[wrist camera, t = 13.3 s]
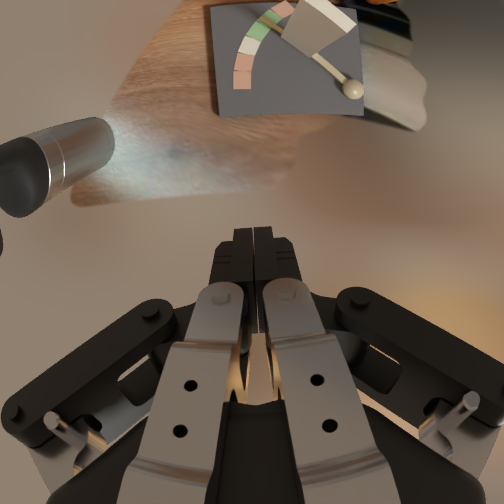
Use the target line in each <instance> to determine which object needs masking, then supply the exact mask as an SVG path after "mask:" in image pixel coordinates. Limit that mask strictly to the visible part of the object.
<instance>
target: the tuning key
mask: <svg viewBox="0 0 504 504" xmlns="http://www.w3.org/2000/svg"><path fill="white" fill-rule="evenodd" d="M259 20H261V21H263V22H264V23H266V24H267V25H269V26H270V27H272V28H273V29H275V30H276V31H278V32H279V33H281V34H282V35H281V38H283V39H284V40H285V41H287V42H288V43H290V44H291V45H292V46H294V47H295V48H296V49H298V50H299V51H300V52H302V53H303V54H304V55H305V56H307V57H308V58H310V57H311V58H312V59H313V60H314V61H315V62H317V63H318V64H319V65H320V66H321V67H323V68H324V69H325V70H326V71H327V72H329V73H330V74H331V75H332V76H333V77H334V78H335V79H336V80H338V81H339V82H340V83H341V84H342V92H343V94H344V95H345V96H346V97H347V98H350V99H359V98H360V97H362V95H363V93H364V88H363V85H362V84H361V83H360V82H359V81H358V80H355V79H351V80H348V79H346V78H345V77H344V76H343V75H342V74H341V73H340V72H339V71H338V70H337V69H335V68H334V67H333V66H332V65H331V64H330V63H329V62H327V61H326V60H325V59H324V58H323V57H321V56H320V55H319V54H318V53H317V52H318V51H320V50H321V49H323V48H324V47H326V46H328V45H329V44H331V43H332V42H334V41H335V40H337V39H338V38H340V37H342V36H343V35H345V34H347V33H348V32H349V31H350V30H351V29H352V28H353V27H354V26H355V25H356V23H355V22H354V21H352V20H351V19H350V18H349V17H348V16H346V15H345V14H344V13H343V12H342V11H340V10H339V9H338V8H336V7H335V6H334V5H333V4H331V3H330V2H329V1H327V0H299V2H298V4H297V6H296V7H295V9H294V11H293V13H292V15H291V17H290V19H289V21H288V23H287V25H286V27H285V29H284V30H283V29H282V28H280V27H279V26H277V25H276V24H274V23H273V22H271V21H270V20H268V19H266V18H265V17H263V16H261V17H260V18H259Z"/></svg>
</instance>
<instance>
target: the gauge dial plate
mask: <svg viewBox="0 0 504 504" xmlns="http://www.w3.org/2000/svg"><path fill="white" fill-rule="evenodd" d="M297 4H298V3H288V2H287V1H286V0H285V1H283V2H281V3H246V4H233V5H223V6H215V7H210V13H211V26H212V38H213V50H214V62H215V73H216V84H217V95H218V105H219V115H220V118H227V117H237V116H249V115H265V114H298V113H311V114H344V115H359V116H364V107H363V95H362V97H360V98H359V99H350V98H347V97H346V96H345V95H344V94H343V92H342V84H341V83H340V82H339V81H338V80H336V79H335V78H334V77H333V76H332V75H331V74H330V73H329V72H327V71H326V70H325V69H324V68H323V67H321V66H320V65H319V64H318V63H317V62H315V61H314V60H313V59H312V58H311V57H310V58H308V57H307V56H305V55H304V54H303V53H302V52H300V51H299V50H298V49H296V48H295V47H294V46H292V45H291V44H290V43H288V42H287V41H285V40H284V39H283V38H281V35H282V34H281V33H279V32H278V31H276V30H275V29H273V28H272V27H270V26H269V25H267V24H266V23H264V22H263V21H261V20H259V18H260V17H261V16H263V17H265V18H266V19H268V20H270V21H271V22H273V23H274V24H276V25H277V26H279V27H280V28H282V29H283V30H284V29H285V27H286V25H287V23H288V21H289V19H290V17H291V15H292V13H293V11H294V9H295V7H296V6H297ZM335 7H336V6H335ZM336 8H338V9H339V10H340V11H342V12H343V13H344V14H345V15H346V16H348V17H349V18H350V19H351V20H352V21H354V22H355V23H356V25H355V26H354V27H353V28H352V29H351V30H350V31H349V32H348V33H347V34H345V35H343V36H342V37H340V38H338V39H337V40H335V41H334V42H332V43H331V44H329V45H328V46H326V47H324V48H323V49H321V50H320V51H318V52H317V53H318V54H319V55H320V56H321V57H323V58H324V59H325V60H326V61H327V62H329V63H330V64H331V65H332V66H333V67H334V68H335V69H337V70H338V71H339V72H340V73H341V74H342V75H343V76H344V77H345V78H346V79H348V80H351V79H355V80H358V81H359V82H360V83H361V84H362V85H363V78H362V62H361V50H360V40H359V31H358V23H357V15H356V9H350V8H343V7H336Z"/></svg>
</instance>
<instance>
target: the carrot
mask: <svg viewBox="0 0 504 504" xmlns="http://www.w3.org/2000/svg"><path fill="white" fill-rule="evenodd" d="M366 1H367V2H369V3H372V4H382V3H388V2H393V1H397V0H366Z"/></svg>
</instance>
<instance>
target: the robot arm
mask: <svg viewBox="0 0 504 504" xmlns="http://www.w3.org/2000/svg"><path fill="white" fill-rule="evenodd" d="M113 150H114V135H113V132H112V130H111V128H110V126H109V125H108V124H107V123H106V122H105V121H104V120H102V119H100V118H96V117H92V118H86V119H81V120H76V121H73V122H68V123H64V124H61V125H57V126H53V127H50V128H47V129H43V130H40V131H37V132H34V133H31V134H28V135H25V136H22V137H19V138H16V139H13V140H11V141H9V142H6V143H4V144H2V145H0V207H1V208H2V209H3V210H4V211H5V212H6V213H7V214H9V215H11V216H13V217H17V218H22V217H25V216H28V215H29V214H31V213H33V212H34V211H35V210H37V209H38V208H39V207H41V206H42V205H43V204H45V203H46V202H48V201H49V200H51V199H52V198H53V197H55V196H56V195H58V194H59V193H61V192H62V191H63V190H65V189H67V188H68V187H70V186H71V185H73V184H74V183H76V182H78V181H79V180H81V179H83V178H84V177H86V176H87V175H89V174H91V173H93V172H94V171H96V170H98V169H100V168H101V167H103V166H104V165H105V164H107V162H108V161H109V160H110V158H111V156H112V154H113ZM2 251H3V239H2V234H1V230H0V256H1V254H2ZM254 255H255V256H254ZM256 294H257V295H256ZM257 306H258V318H259V330H260V333H265V338H266V352H267V359H268V365H269V371H270V378H271V384H272V390H273V397H274V401H272V402H269V403H265V404H261V405H248V404H247V390H248V379H249V367H250V356H251V348H250V347H251V342H252V333H258V324H257ZM370 345H372V346H374V347H375V348H377V349H379V350H380V351H382V352H384V353H385V354H387V355H388V356H390V357H392V358H393V359H395V360H396V361H398V363H399V364H400V365H399V364H398V363H396V362H395V361H393V360H391V359H390V358H388V357H387V356H385V355H383V354H382V353H380V352H379V351H377V350H375V349H374V348H372V347H371V346H370ZM146 355H148V357H149V359H148V360H146V361H145V362H144V363H143V364H141V365H140V366H139V367H138V368H136V369H135V370H134V371H132V372H131V373H130V374H128V375H127V376H126V377H125V378H123V379H122V380H120V381H117V380H118V378H119V376H120V375H121V374H122V373H124V372H125V371H126V370H127V369H129V368H130V367H131V366H133V365H134V364H135V363H137V362H138V361H139V360H140V359H142V358H143V357H144V356H146ZM356 388H357V389H359V390H360V391H362V392H363V393H365V394H366V395H368V396H369V397H370V398H372V399H373V400H375V401H376V402H378V403H379V404H381V405H382V406H384V407H385V408H387V409H388V410H390V411H391V412H393V413H394V414H396V415H398V416H399V417H401V418H402V419H403V420H405V421H407V422H408V423H410V424H411V425H413V426H414V427H416V428H417V429H419V440H418V439H416V438H415V437H413V436H412V435H410V434H409V433H408V432H406V431H405V430H403V429H402V428H400V427H399V426H398V425H396V424H395V423H393V422H392V421H390V420H389V419H388V418H387V417H385V416H384V415H382V414H381V413H380V412H378V411H377V410H375V409H373V408H371V407H369V406H367V405H365V404H362V403H361V400H360V397H359V395H358V392H357V389H356ZM149 411H150V413H149V416H147V417H146V418H145V419H143V420H142V421H140V422H139V423H138V424H137V425H135V426H134V427H133V428H132V429H131V430H130V431H129V432H127V433H126V434H125V435H124V436H123V437H122V438H120V439H119V440H118V441H117V442H116V443H114V444H113V445H112V446H111V447H110V448H108V449H107V445H108V444H109V443H110V442H112V441H113V440H114V439H116V438H117V437H118V436H119V435H121V434H122V433H123V432H124V431H126V430H127V429H128V428H129V427H131V426H132V425H133V424H134V423H136V422H137V421H138V420H139V419H140V418H142V417H143V416H144V415H145V414H147V413H148V412H149ZM1 422H2V426H3V428H4V429H5V430H6V431H7V432H8V433H9V434H11V435H12V436H13V437H15V438H16V439H17V440H19V441H20V442H22V443H23V444H24V445H25V446H26V447H27V448H28V450H29V452H30V454H31V456H32V458H33V460H34V463H35V465H36V466H37V468H38V471H39V473H40V474H41V477H42V478H43V480H44V482H45V484H46V486H47V487H48V489H49V491H50V493H51V496H50V497H49V499H48V501H47V503H46V504H486V498H485V493H484V490H483V487H482V485H481V483H480V482H479V481H478V478H479V476H480V474H481V472H482V470H483V468H484V466H485V464H486V462H487V459H488V457H489V455H490V453H491V450H492V448H493V446H494V443H495V441H496V438H497V435H498V433H499V430H500V428H501V426H502V425H503V424H504V364H502V363H501V362H499V361H497V360H496V359H494V358H492V357H491V356H489V355H487V354H485V353H484V352H482V351H480V350H478V349H477V348H475V347H473V346H472V345H470V344H468V343H466V342H464V341H463V340H461V339H459V338H457V337H456V336H454V335H452V334H450V333H449V332H447V331H445V330H443V329H441V328H440V327H438V326H436V325H434V324H432V323H430V322H429V321H427V320H425V319H423V318H422V317H420V316H418V315H416V314H414V313H412V312H411V311H409V310H407V309H405V308H403V307H401V306H400V305H397V304H395V303H394V302H392V301H390V300H388V299H386V298H385V297H383V296H381V295H379V294H377V293H375V292H373V291H372V290H369V289H367V288H363V287H350V288H346V289H344V290H343V291H341V292H340V293H339V294H338V296H337V298H329V297H323V296H319V295H316V294H314V293H312V292H310V291H309V288H308V287H307V285H306V284H304V283H303V282H302V279H301V274H300V271H299V267H298V263H297V259H296V256H295V252H294V248H293V245H292V243H291V242H290V241H289V240H288V239H287V238H285V237H282V238H273V233H272V227H271V226H269V227H254V244H253V232H252V228H240V229H234V235H233V241H225V242H221V243H220V245H219V246H218V247H217V248H216V249H215V254H214V259H213V265H212V269H211V274H210V280H209V285H208V286H207V287H205V288H204V289H203V290H202V291H201V292H200V293H199V296H198V298H197V301H196V302H195V303H193V304H191V305H188V306H184V307H180V308H176V309H173V307H172V305H171V304H170V303H169V302H168V301H166V300H162V299H151V300H147V301H145V302H142V303H141V304H139V305H138V306H136V307H135V308H133V309H132V310H130V311H129V312H128V313H126V314H125V315H123V316H122V317H120V318H119V319H117V320H116V321H115V322H113V323H112V324H110V325H109V326H108V327H106V328H105V329H103V330H102V331H100V332H99V333H98V334H96V335H95V336H93V337H92V338H90V339H89V340H88V341H86V342H85V343H84V344H82V345H81V346H79V347H78V348H76V349H75V350H74V351H72V352H71V353H70V354H68V355H67V356H65V357H64V358H63V359H61V360H60V361H58V362H57V363H56V364H54V365H53V366H52V367H50V368H49V369H47V370H46V371H45V372H43V373H42V374H41V375H39V376H38V377H37V378H35V379H34V380H33V381H31V382H30V383H28V384H27V385H26V386H24V387H23V388H22V389H20V390H19V391H18V392H16V393H15V394H14V395H12V396H11V397H10V398H9V399H8V400H7V401H6V402H5V404H4V406H3V408H2V412H1Z"/></svg>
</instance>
